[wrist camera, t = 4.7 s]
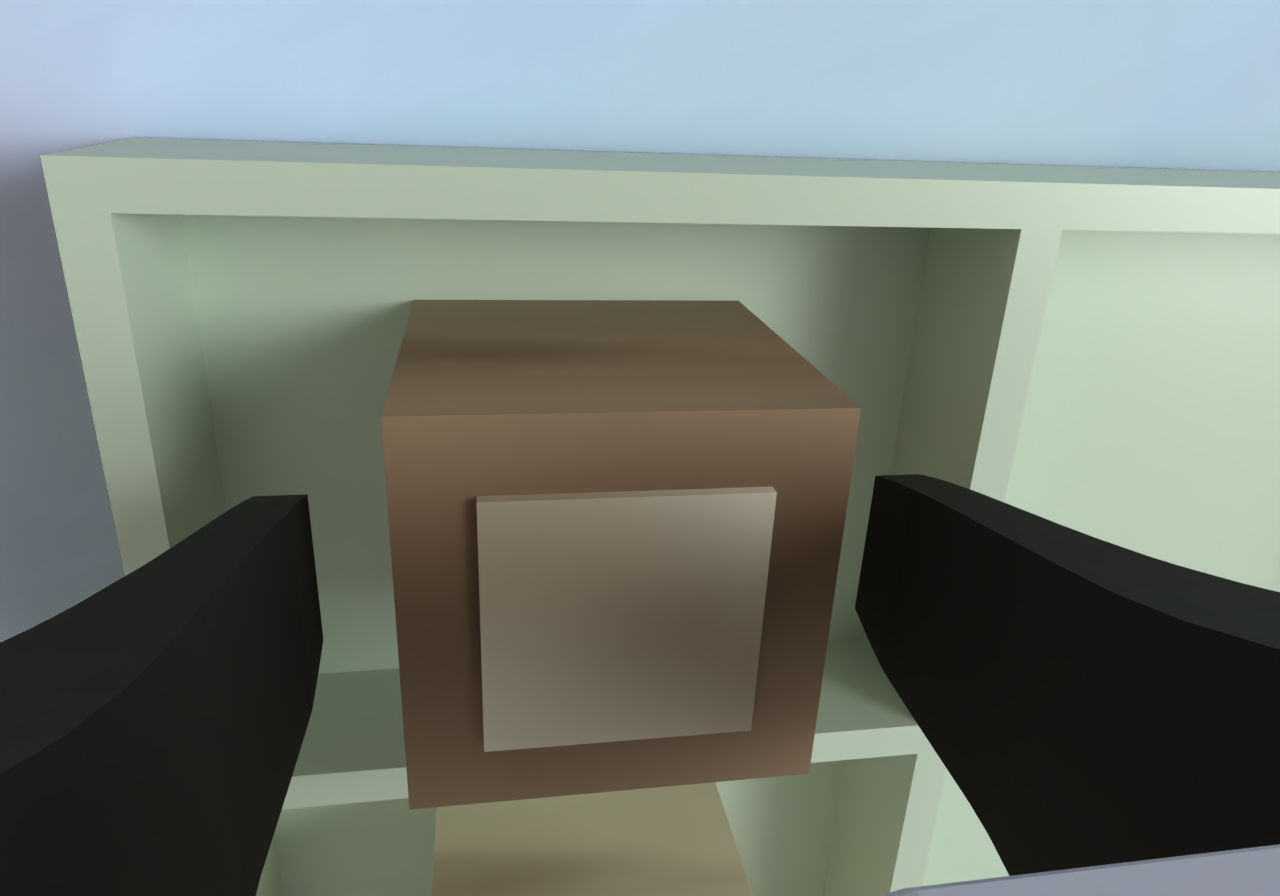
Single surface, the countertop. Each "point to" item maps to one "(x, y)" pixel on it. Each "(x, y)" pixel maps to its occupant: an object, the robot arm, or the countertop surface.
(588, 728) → the brown cube
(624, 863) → the plain cube
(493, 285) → the organiser
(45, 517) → the countertop surface
